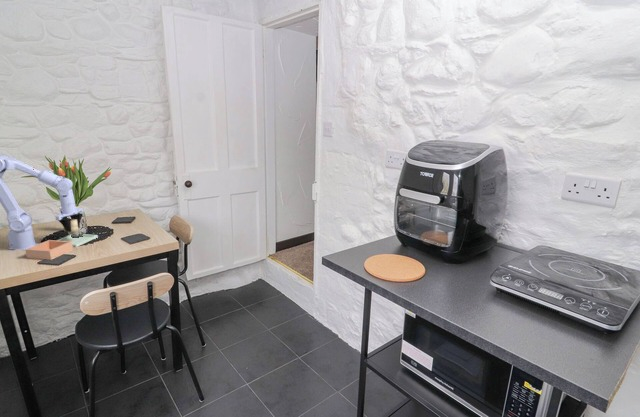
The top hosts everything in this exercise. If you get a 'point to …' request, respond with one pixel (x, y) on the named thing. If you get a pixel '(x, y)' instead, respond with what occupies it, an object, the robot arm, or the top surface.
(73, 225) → the beech cylinder
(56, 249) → the salmon tray
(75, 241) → the sage tray
